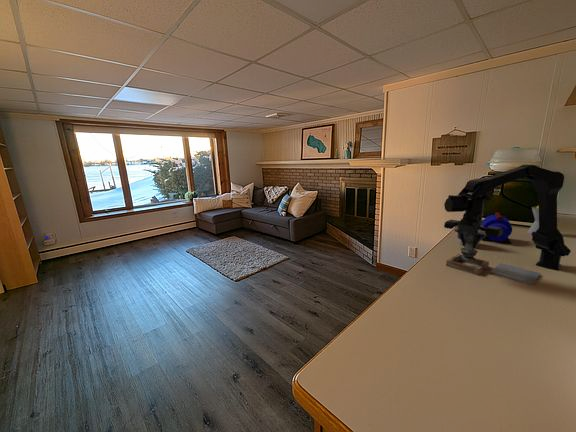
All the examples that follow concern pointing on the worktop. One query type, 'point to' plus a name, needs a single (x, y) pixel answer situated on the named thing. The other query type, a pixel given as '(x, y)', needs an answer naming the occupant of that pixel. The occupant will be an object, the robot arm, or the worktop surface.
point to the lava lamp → (536, 222)
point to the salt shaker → (469, 248)
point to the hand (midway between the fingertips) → (469, 247)
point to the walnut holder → (454, 264)
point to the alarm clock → (498, 222)
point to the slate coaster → (515, 273)
